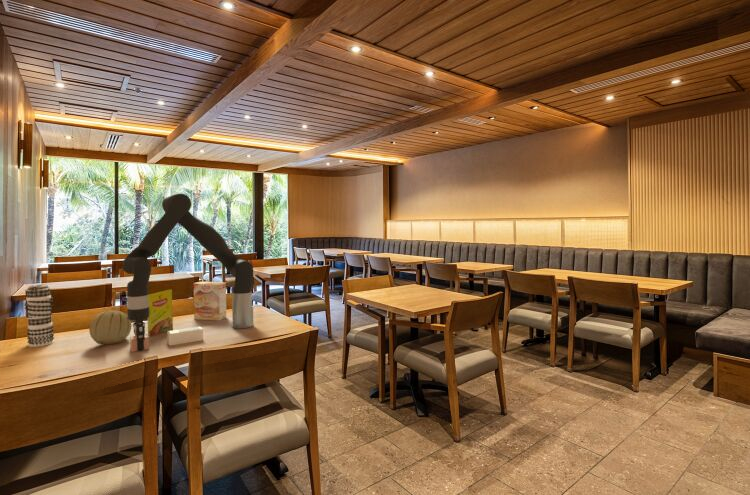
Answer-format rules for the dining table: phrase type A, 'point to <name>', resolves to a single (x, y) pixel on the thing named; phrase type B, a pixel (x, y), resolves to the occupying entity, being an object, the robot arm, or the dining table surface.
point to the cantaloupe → (110, 327)
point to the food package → (160, 312)
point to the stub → (134, 342)
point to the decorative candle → (39, 316)
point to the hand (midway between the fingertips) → (139, 348)
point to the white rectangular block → (184, 335)
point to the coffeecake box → (209, 300)
